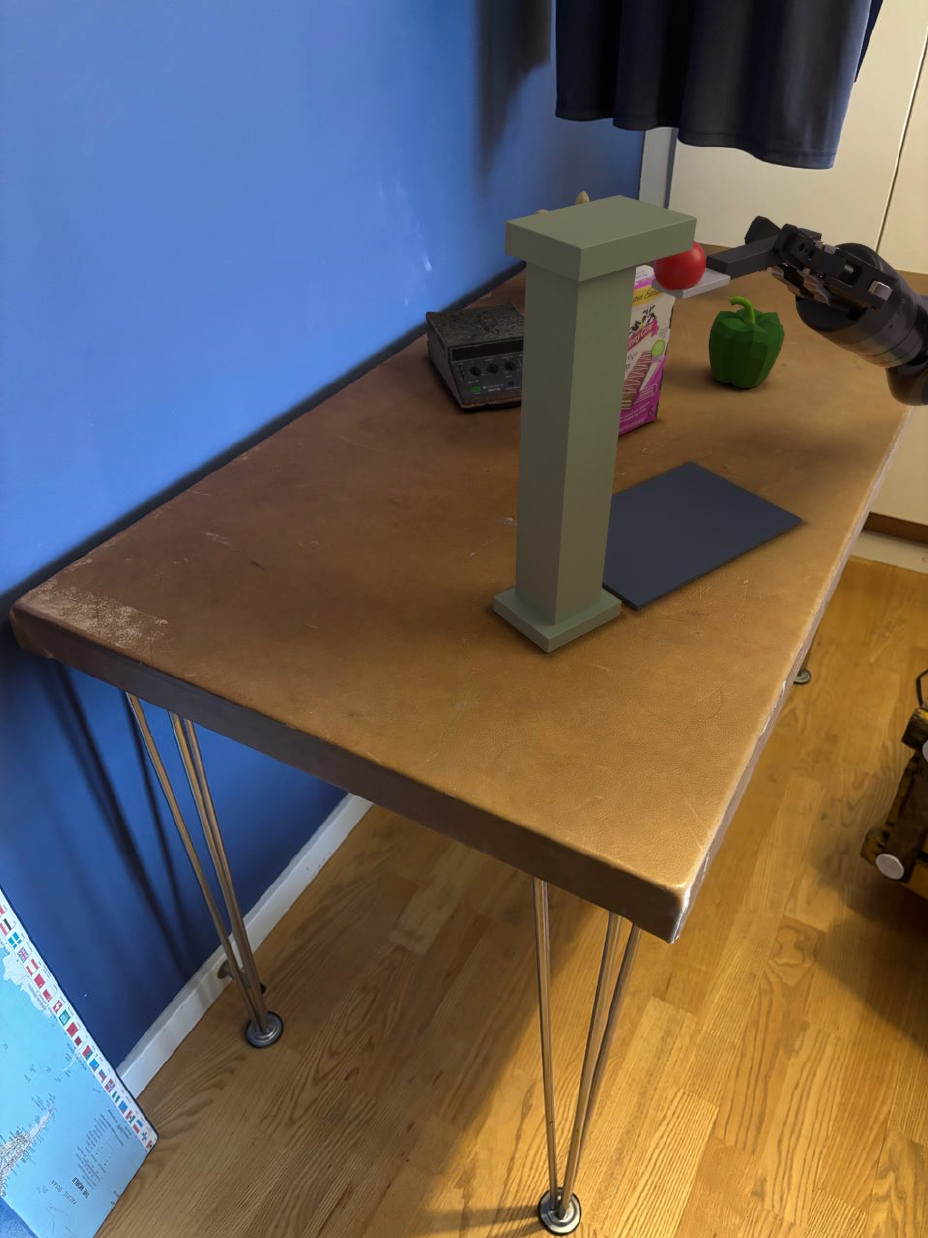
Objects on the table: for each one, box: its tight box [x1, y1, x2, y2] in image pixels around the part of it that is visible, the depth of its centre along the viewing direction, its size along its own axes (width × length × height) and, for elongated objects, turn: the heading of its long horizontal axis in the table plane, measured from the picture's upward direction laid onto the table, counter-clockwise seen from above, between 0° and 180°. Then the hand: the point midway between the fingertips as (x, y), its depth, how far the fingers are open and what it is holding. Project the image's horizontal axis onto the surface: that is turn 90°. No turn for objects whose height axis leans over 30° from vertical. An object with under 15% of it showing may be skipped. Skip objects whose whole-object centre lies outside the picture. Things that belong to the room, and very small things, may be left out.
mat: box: [602, 460, 803, 611], centre depth 86 cm, size 22×14×1 cm, turn 127°
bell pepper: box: [708, 295, 786, 389], centre depth 108 cm, size 8×8×10 cm
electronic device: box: [425, 301, 525, 411], centre depth 110 cm, size 12×17×6 cm
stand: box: [492, 194, 698, 654], centre depth 67 cm, size 10×7×31 cm, turn 127°
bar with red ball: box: [651, 227, 823, 300], centre depth 67 cm, size 17×4×4 cm, turn 127°
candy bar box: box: [618, 264, 676, 437], centre depth 97 cm, size 11×5×16 cm, turn 130°
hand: (767, 233), depth 68 cm, fingers closed on bar with red ball, 2 cm apart
